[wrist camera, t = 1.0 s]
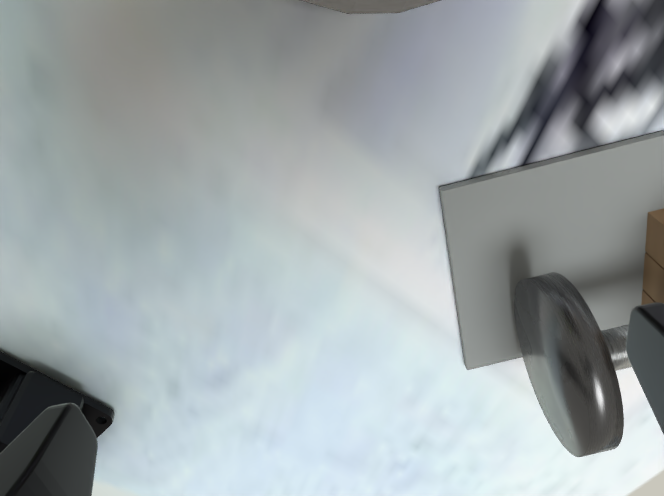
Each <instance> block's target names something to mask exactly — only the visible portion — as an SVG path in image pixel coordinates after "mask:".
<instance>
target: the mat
mask: <svg viewBox="0 0 664 496" xmlns="http://www.w3.org/2000/svg"><path fill="white" fill-rule="evenodd" d="M439 191H440V197H441V204H442V211H443V218H444V225H445V232H446V239H447V246H448V252H449V259H450V266H451V273H452V280H453V287H454V294H455V300H456V307H457V314H458V321H459V328H460V335H461V342H462V349H463V355H464V362H465V366H466V369H467V370H470V369H474V368H479V367H483V366H487V365H491V364H495V363H499V362H504V361H508V360H512V359H516V358H520V357H523V355H522V352H521V348H520V343H519V339H518V334H517V329H516V322H515V313H514V294H515V289H516V286H517V283H518V282H519V281H520V280H523V279H527V278H531V277H535V276H539V275H543V274H547V273H551V272H556V273H559V274H561V275H563V276H564V277H566V278H567V279H568V280H569V281H570V282H571V283H572V284H573V285H574V286H575V288H576V289H577V290H578V291H579V293H580V294H581V296H582V297H583V299H584V300H585V302H586V303H587V305H588V307H589V308H590V310H591V312H592V314H593V316H594V318H595V320H596V322H597V324H598V326H599V328H600V330H601V331H603V330H607V329H611V328H615V327H619V326H623V325H627V324H629V319H630V314H631V311H632V309H633V308H634V307H636V306H638V305H641V302H642V290H644V289H643V274H644V260H645V253H646V251H645V245H646V231H647V217H648V212H651V211H655V210H659V209H663V208H664V131H660V132H656V133H652V134H648V135H644V136H640V137H636V138H632V139H628V140H624V141H620V142H616V143H612V144H608V145H604V146H600V147H596V148H592V149H588V150H584V151H581V152H577V153H573V154H569V155H565V156H561V157H557V158H553V159H549V160H545V161H541V162H537V163H533V164H529V165H525V166H521V167H517V168H513V169H509V170H505V171H501V172H497V173H493V174H489V175H485V176H481V177H477V178H474V179H470V180H466V181H462V182H458V183H454V184H450V185H446V186H442V187H439Z"/></svg>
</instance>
